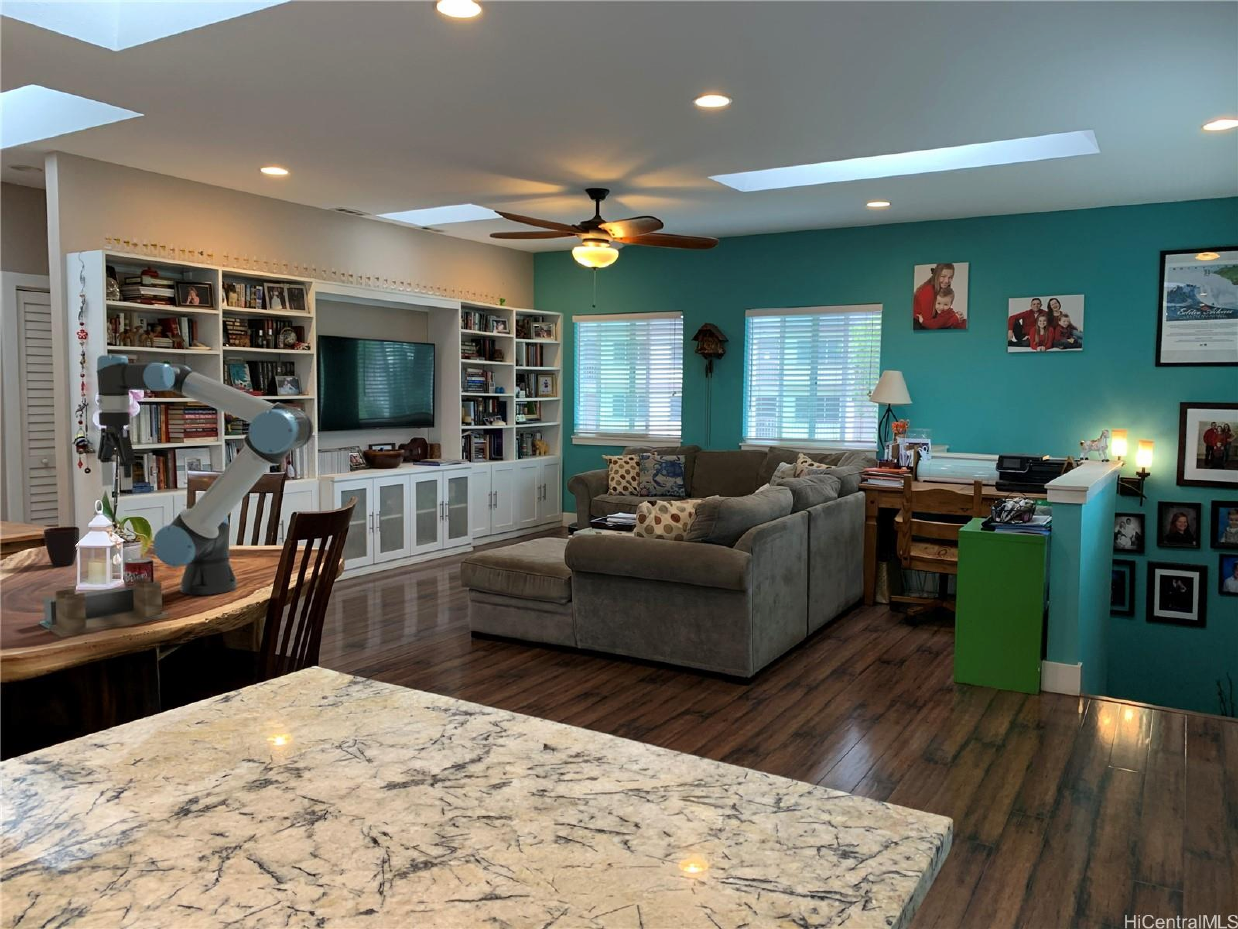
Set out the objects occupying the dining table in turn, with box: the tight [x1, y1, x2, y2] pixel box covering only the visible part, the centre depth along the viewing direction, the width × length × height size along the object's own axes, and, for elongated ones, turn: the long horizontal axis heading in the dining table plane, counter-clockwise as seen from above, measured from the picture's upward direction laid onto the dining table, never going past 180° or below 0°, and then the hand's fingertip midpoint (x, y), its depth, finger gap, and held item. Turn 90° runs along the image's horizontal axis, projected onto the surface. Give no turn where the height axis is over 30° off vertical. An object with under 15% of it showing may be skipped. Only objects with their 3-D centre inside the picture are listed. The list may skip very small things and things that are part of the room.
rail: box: [43, 585, 134, 625], centre depth 234 cm, size 22×5×6 cm, turn 139°
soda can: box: [123, 557, 155, 587], centre depth 250 cm, size 7×7×12 cm
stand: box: [49, 577, 170, 638], centre depth 227 cm, size 25×8×10 cm, turn 139°
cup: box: [43, 526, 80, 568], centre depth 300 cm, size 10×14×12 cm
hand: (117, 487), depth 251 cm, fingers open, 13 cm apart
